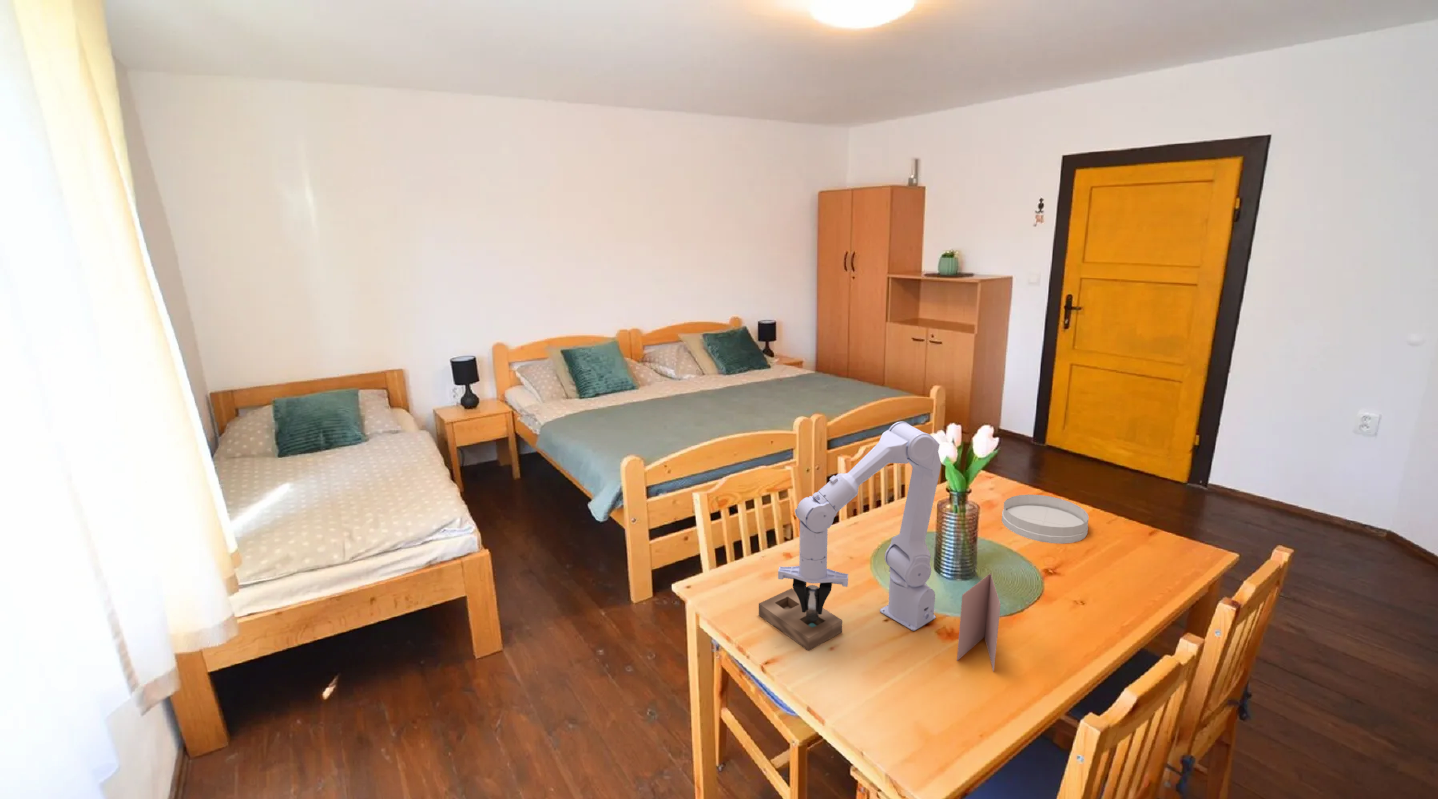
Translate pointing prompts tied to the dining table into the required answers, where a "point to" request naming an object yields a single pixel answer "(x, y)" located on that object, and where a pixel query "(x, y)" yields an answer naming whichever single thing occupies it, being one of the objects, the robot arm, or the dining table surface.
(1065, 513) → the dish
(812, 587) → the pin
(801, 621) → the hole block
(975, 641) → the greeting card
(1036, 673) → the dining table surface
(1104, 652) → the dining table surface
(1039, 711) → the dining table surface
